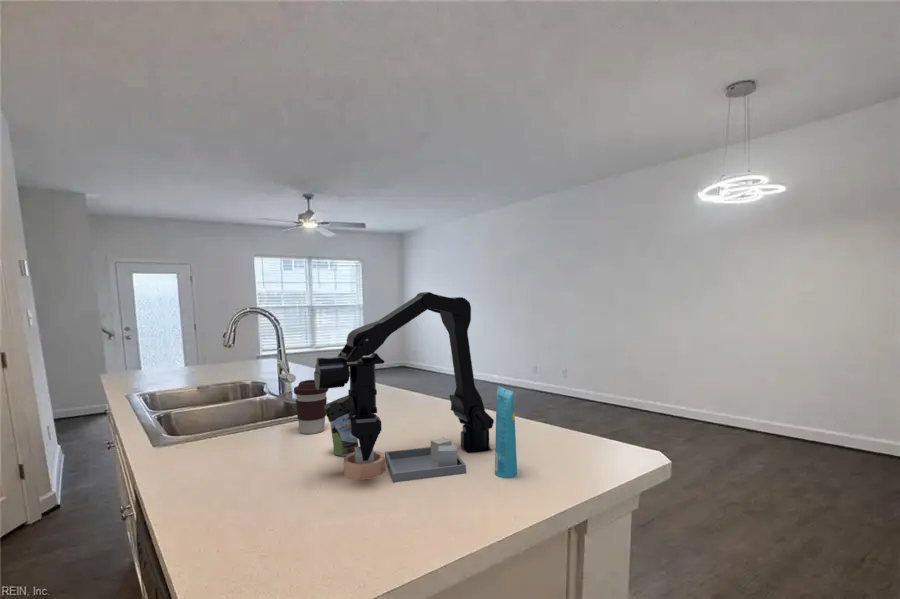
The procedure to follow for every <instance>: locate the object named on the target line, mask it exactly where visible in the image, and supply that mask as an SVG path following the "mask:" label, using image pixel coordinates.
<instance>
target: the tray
mask: <svg viewBox="0 0 900 599" xmlns="http://www.w3.org/2000/svg"><path fill="white" fill-rule="evenodd" d="M384 457H385V464H386V467H387V470H388V472H389V475H390V477H391V481H392V483H399V482H400V483H401V482H407V481H416V480H423V479H424V480H425V479H431V478H438V477H448V476H456V475H463V474H465V475H466V474H467V464H466V463H465V462H464V460H462V459H461V457H460V456H459V455H458V454H457V465H453V466H444V467H439V463H438V462H437V461H435V460H433V459H431V446H425V447H416V448H408V449H398V450H390V451H389V450H387V451H385V452H384Z"/></svg>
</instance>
